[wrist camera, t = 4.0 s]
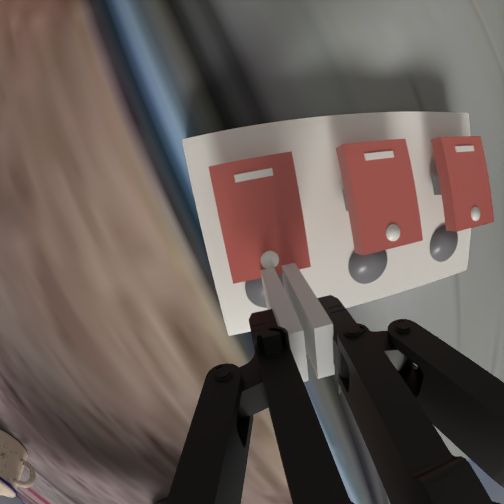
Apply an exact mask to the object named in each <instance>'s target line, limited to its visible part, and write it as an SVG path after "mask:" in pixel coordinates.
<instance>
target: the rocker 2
mask: <svg viewBox="0 0 504 504" xmlns="http://www.w3.org/2000/svg"><path fill="white" fill-rule="evenodd" d="M336 152H337V157H338V161H339V166H340V171H341V176H342V181H343V186H344V189H342V192H343V198H344V203H345V209H346V211H348V213H349V218H350V224H351V230H352V237H353V243H354V250H355V253H357V254H360V255H367V254H371V253H375V252H379V251H383V250H387V249H391V248H395V247H399V246H403V245H407V244H411V243H415V242H419V241H423V237H422V229H421V221H420V213H419V207H418V200H417V194H416V188H415V182H414V177H413V172H412V167H411V162H410V157H409V153H408V148H407V144H406V140H405V139H392V140H379V141H368V142H358V143H349V144H342V145H340V146H339V147H337V148H336Z"/></svg>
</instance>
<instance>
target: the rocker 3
mask: <svg viewBox="0 0 504 504" xmlns="http://www.w3.org/2000/svg"><path fill="white" fill-rule="evenodd" d="M431 143H432V148H433V152H434V157H435V162H436V167H437V172H438V175H436V176H431V179H432V185H433V191H434V195H442V202H443V209H444V217H445V225H446V231H454V232H458V231H461V230H465V229H469V228H473V227H476V226H480V225H484V224H487V223H491V222H494V217H493V207H492V199H491V191H490V184H489V178H488V172H487V166H486V161H485V156H484V151H483V146H482V142H481V138H480V136H452V137H438V138H435V139H432V140H431Z"/></svg>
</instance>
